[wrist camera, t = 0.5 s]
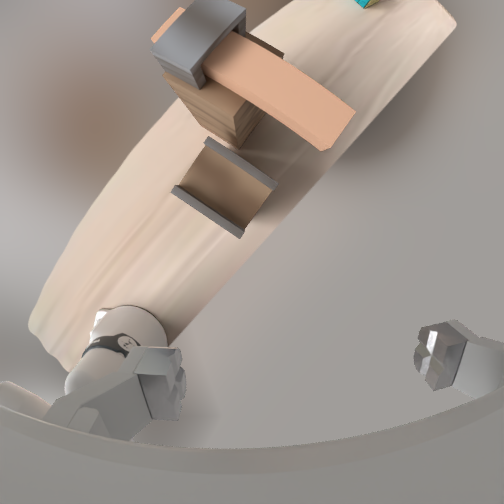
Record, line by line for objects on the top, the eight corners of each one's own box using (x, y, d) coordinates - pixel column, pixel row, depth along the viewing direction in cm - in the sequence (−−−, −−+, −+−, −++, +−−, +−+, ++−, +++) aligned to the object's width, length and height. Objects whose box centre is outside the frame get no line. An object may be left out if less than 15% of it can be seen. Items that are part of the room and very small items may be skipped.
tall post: (238, 149, 49) (230, 101, 19) (200, 125, 48) (145, 54, 18) (264, 114, 48) (292, 28, 17) (227, 90, 47) (209, -13, 16)
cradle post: (240, 221, 52) (239, 239, 35) (193, 189, 50) (170, 192, 34) (267, 183, 51) (278, 183, 34) (219, 151, 49) (208, 136, 33)
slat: (321, 151, 25) (330, 147, 22) (159, 51, 22) (150, 38, 19) (344, 118, 24) (356, 111, 21) (185, 22, 21) (179, 7, 18)
